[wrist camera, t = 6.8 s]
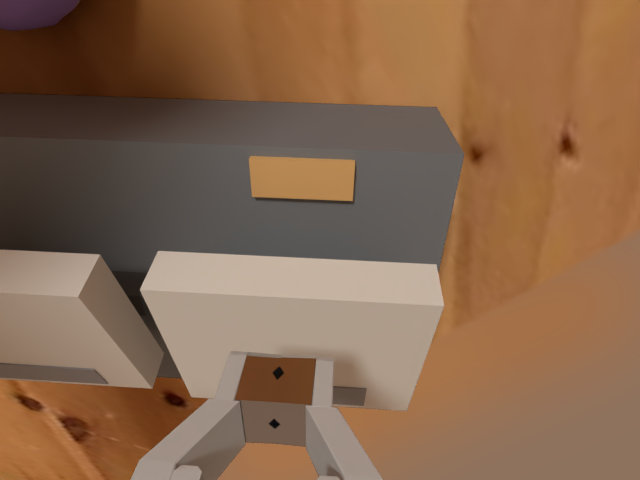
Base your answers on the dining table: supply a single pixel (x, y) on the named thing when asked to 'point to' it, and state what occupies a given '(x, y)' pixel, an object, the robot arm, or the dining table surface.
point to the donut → (33, 13)
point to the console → (222, 182)
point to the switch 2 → (298, 318)
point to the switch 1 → (71, 323)
